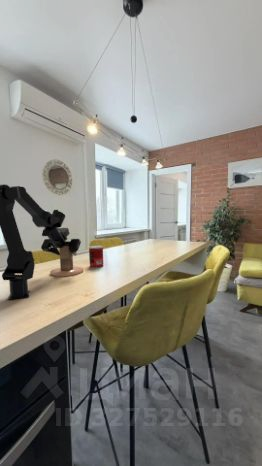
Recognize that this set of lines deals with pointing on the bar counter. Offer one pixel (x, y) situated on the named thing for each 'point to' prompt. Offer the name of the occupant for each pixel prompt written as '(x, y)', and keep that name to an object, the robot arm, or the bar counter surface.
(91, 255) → the canned food
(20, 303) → the bar counter surface
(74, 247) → the robot arm
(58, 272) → the terracotta dish
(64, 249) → the walnut block
